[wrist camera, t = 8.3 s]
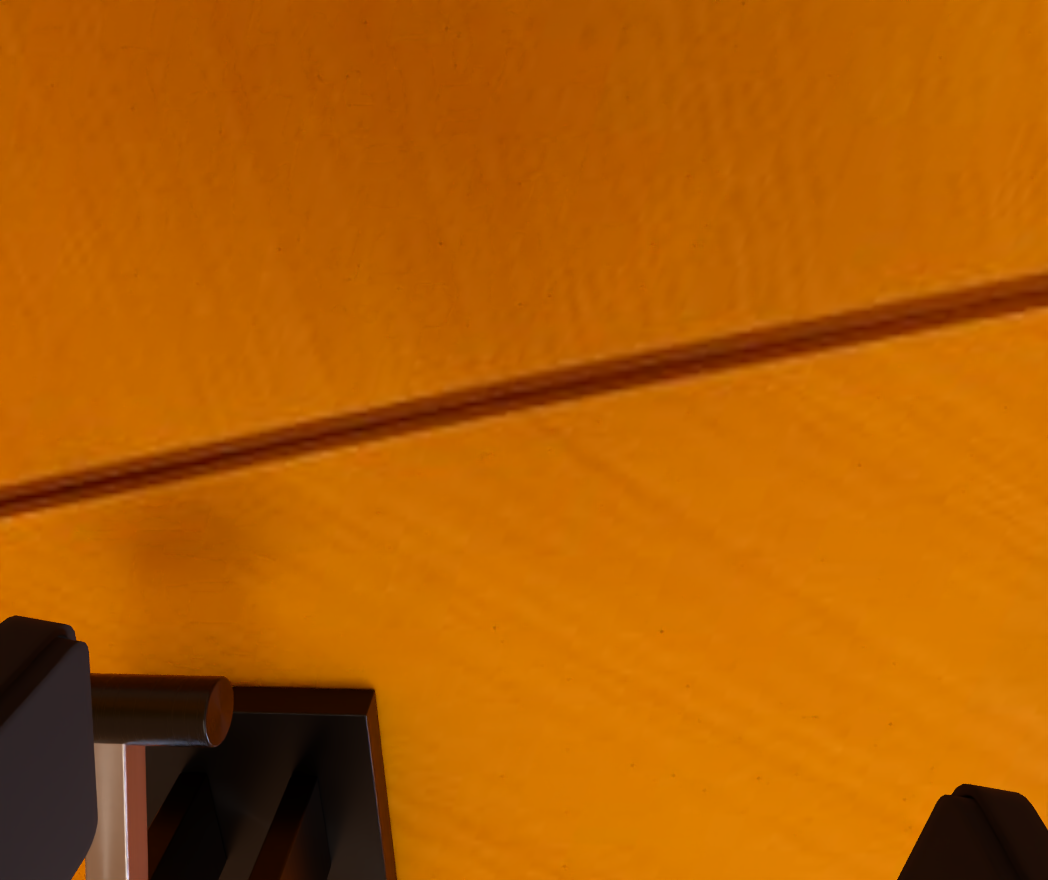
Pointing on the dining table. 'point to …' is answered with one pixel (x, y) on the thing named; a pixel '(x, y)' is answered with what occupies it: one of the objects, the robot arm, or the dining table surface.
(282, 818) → the bracket
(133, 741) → the lever
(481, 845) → the dining table surface
